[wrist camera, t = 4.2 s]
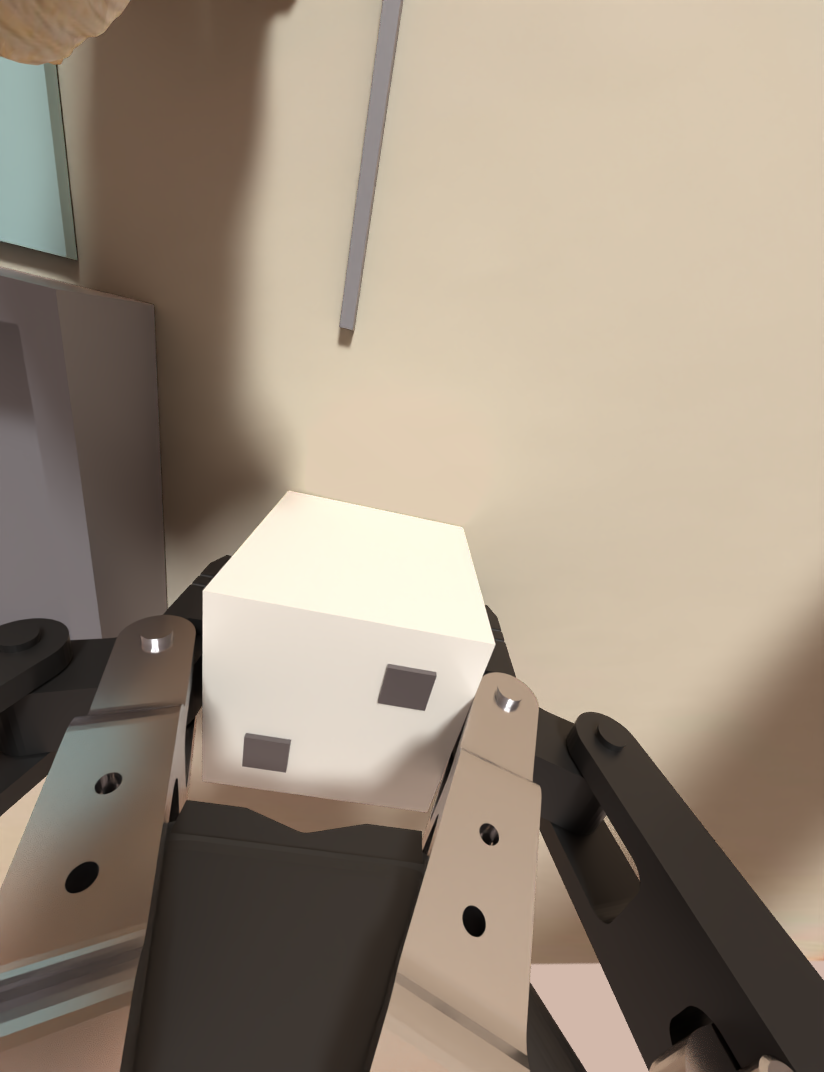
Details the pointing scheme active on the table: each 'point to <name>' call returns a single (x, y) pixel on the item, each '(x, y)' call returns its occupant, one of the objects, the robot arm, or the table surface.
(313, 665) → the die
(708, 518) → the table surface
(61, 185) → the track
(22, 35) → the lion figurine
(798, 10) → the table surface
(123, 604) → the dice tray
